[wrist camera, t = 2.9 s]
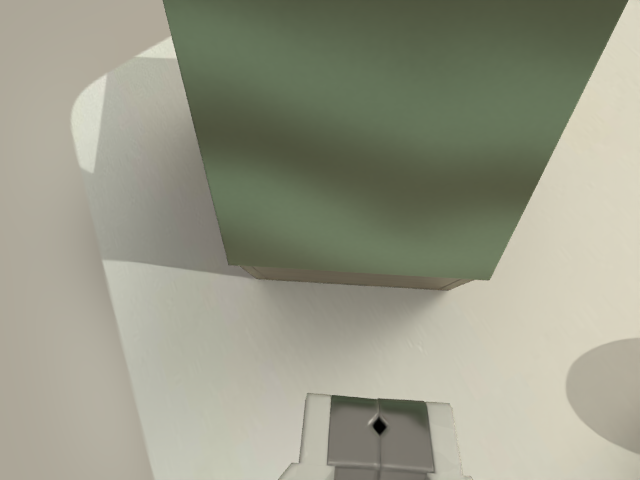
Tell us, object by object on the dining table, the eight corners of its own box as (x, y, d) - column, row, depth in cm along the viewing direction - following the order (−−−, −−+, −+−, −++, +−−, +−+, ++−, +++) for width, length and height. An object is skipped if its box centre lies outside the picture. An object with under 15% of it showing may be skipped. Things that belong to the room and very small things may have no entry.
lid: (155, -68, 16) (148, -54, 15) (639, -51, 15) (646, -35, 15) (230, 252, 29) (228, 265, 29) (488, 267, 29) (489, 281, 28)
